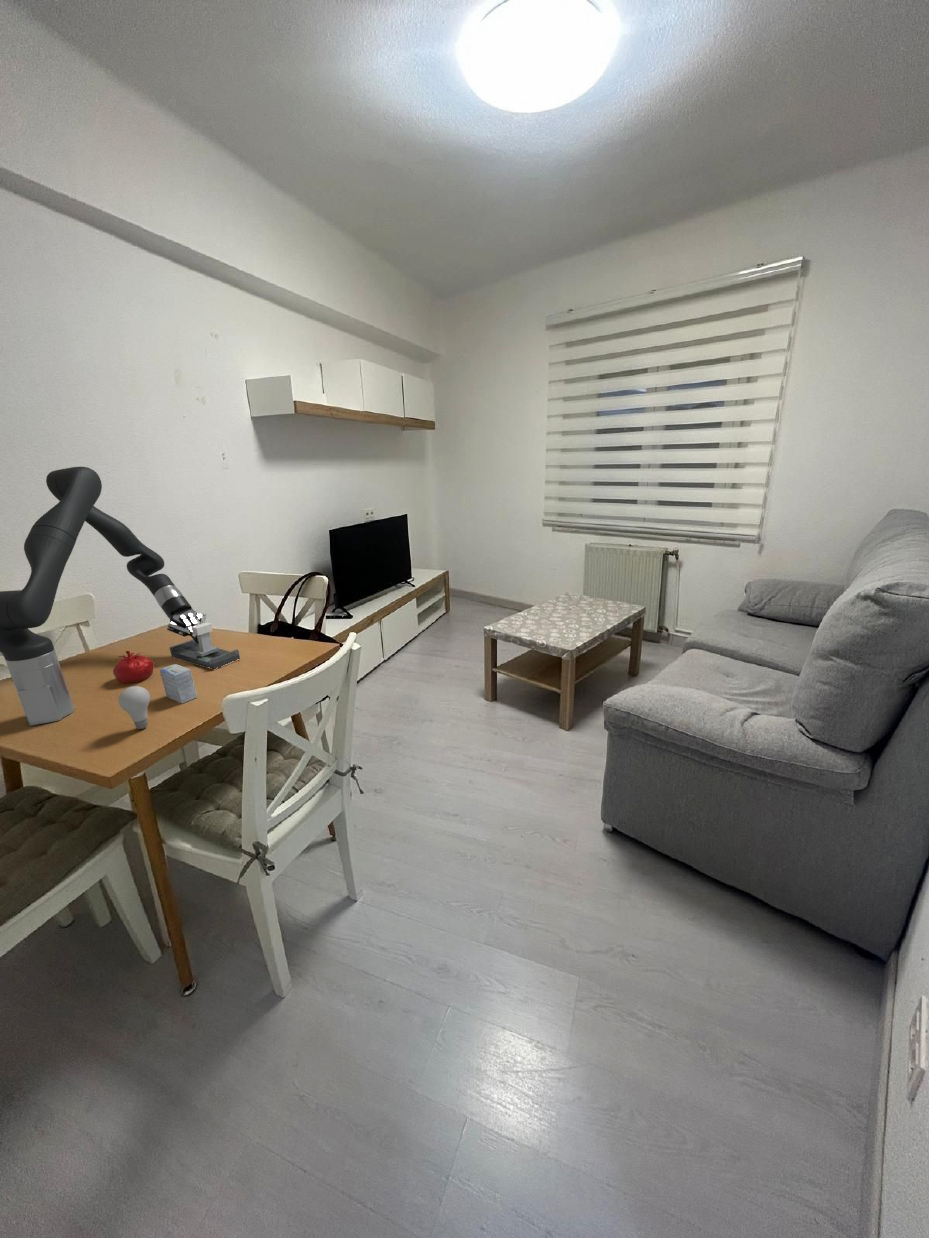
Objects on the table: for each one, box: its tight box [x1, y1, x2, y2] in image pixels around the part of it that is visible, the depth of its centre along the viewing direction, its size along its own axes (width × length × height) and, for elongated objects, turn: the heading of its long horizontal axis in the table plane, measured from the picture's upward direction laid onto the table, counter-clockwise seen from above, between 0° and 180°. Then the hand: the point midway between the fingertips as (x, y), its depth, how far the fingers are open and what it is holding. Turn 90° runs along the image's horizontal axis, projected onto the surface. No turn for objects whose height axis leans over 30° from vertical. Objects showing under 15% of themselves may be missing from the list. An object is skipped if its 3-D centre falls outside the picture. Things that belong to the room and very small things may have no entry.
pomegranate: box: [112, 650, 155, 684], centre depth 139 cm, size 10×10×9 cm
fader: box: [191, 622, 220, 657], centre depth 151 cm, size 4×6×9 cm, turn 150°
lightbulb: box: [118, 685, 151, 730], centre depth 111 cm, size 6×6×11 cm
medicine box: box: [159, 663, 198, 704], centre depth 126 cm, size 8×4×9 cm, turn 58°
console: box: [168, 639, 241, 670], centre depth 154 cm, size 24×9×4 cm, turn 60°
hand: (202, 642), depth 152 cm, fingers closed
